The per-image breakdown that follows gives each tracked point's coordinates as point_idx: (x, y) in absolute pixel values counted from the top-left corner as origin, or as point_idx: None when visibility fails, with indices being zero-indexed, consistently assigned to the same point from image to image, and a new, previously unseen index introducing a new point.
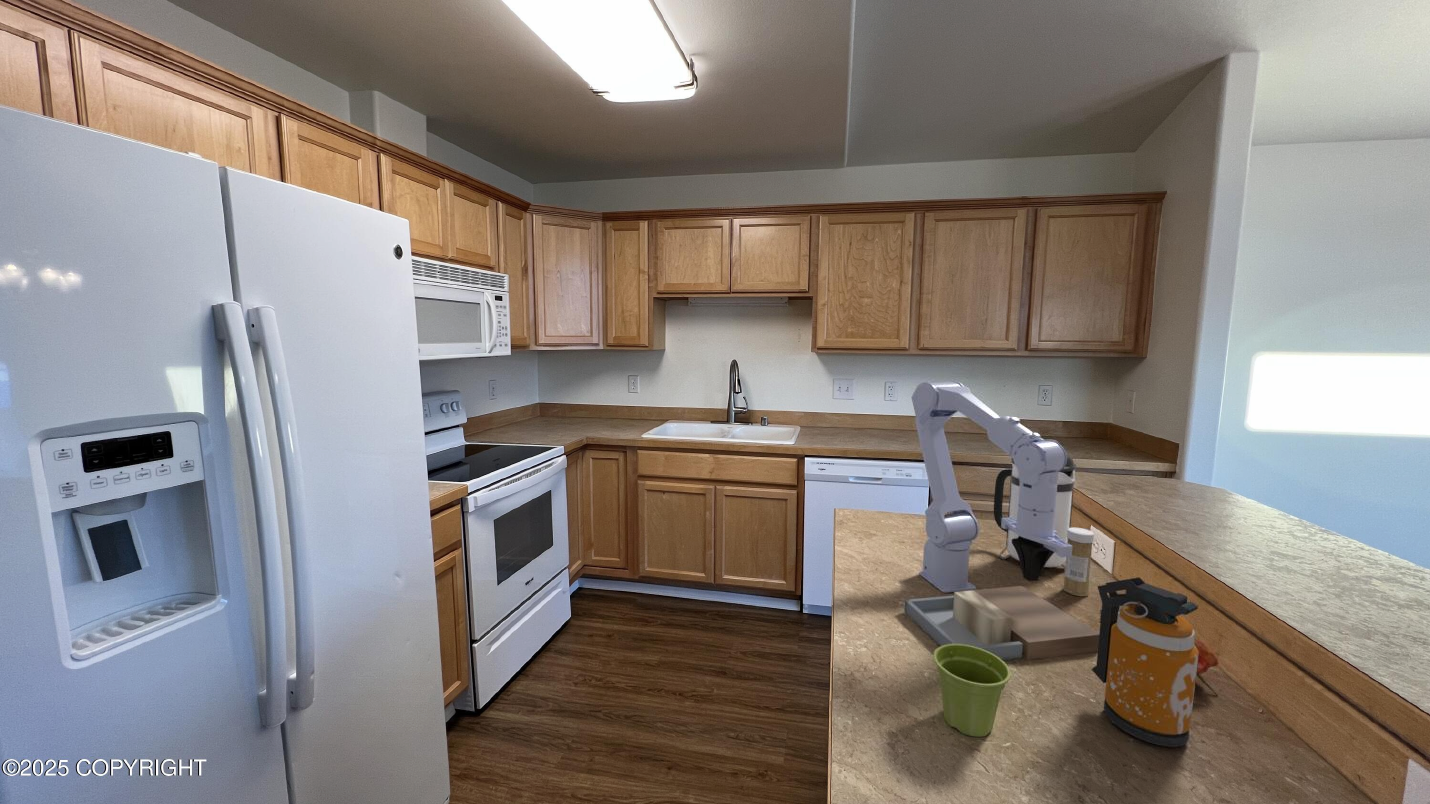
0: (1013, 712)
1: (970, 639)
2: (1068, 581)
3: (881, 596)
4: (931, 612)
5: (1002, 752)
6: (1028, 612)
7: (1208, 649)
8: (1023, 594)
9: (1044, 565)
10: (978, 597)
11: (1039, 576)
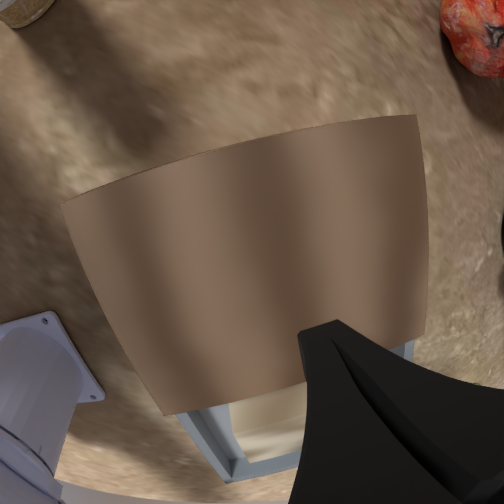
0: (472, 361)
1: None
2: (15, 9)
3: (166, 476)
4: (223, 437)
5: (492, 376)
6: (289, 277)
7: None
8: (136, 230)
9: (411, 362)
10: (280, 429)
11: (352, 329)
